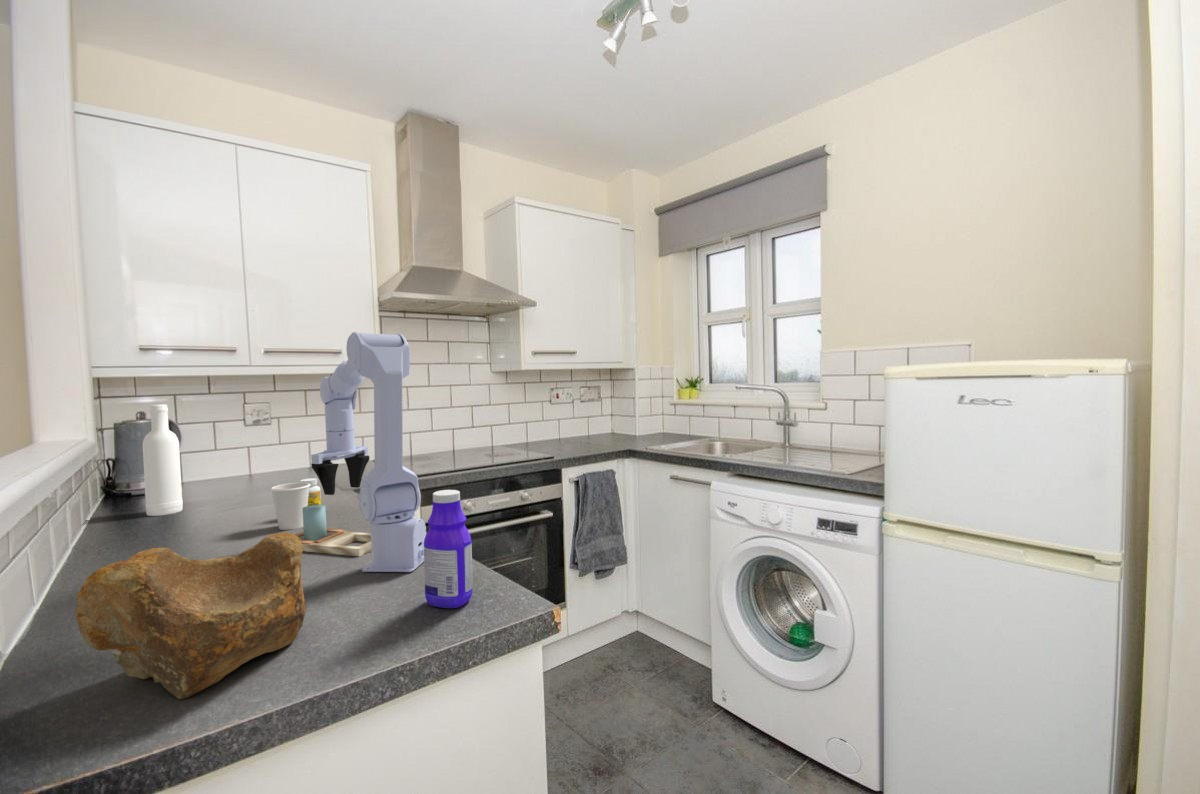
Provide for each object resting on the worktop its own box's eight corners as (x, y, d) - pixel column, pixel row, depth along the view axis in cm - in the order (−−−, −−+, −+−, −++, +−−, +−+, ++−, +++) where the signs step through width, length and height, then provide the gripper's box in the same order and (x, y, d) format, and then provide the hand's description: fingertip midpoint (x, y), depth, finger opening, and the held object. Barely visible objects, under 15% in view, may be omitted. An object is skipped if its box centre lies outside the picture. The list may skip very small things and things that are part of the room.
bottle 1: (169, 508, 150) (163, 404, 149) (190, 509, 148) (184, 403, 147) (138, 515, 143) (132, 405, 142) (160, 516, 141) (153, 405, 140)
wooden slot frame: (391, 541, 114) (391, 533, 114) (359, 556, 105) (359, 547, 105) (315, 535, 120) (314, 527, 120) (278, 548, 111) (278, 540, 111)
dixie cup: (274, 524, 130) (272, 484, 129) (312, 520, 134) (310, 481, 133) (270, 533, 122) (268, 491, 122) (311, 528, 126) (309, 486, 126)
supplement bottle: (320, 512, 142) (319, 476, 142) (323, 516, 137) (321, 479, 137) (297, 515, 139) (296, 479, 139) (299, 519, 134) (297, 482, 134)
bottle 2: (479, 597, 83) (476, 489, 83) (459, 613, 78) (455, 497, 77) (441, 592, 86) (437, 487, 85) (418, 607, 80) (414, 494, 80)
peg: (331, 540, 116) (329, 504, 116) (319, 546, 112) (317, 509, 111) (312, 540, 116) (310, 504, 116) (299, 546, 112) (297, 509, 112)
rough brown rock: (77, 759, 50) (74, 609, 49) (77, 677, 62) (75, 554, 61) (334, 668, 67) (337, 554, 66) (296, 617, 79) (298, 519, 77)
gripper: (350, 427, 126) (352, 483, 126) (298, 434, 112) (301, 497, 113) (374, 427, 124) (376, 484, 124) (325, 434, 110) (328, 498, 110)
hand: (342, 490), depth 118 cm, fingers open, 7 cm apart
